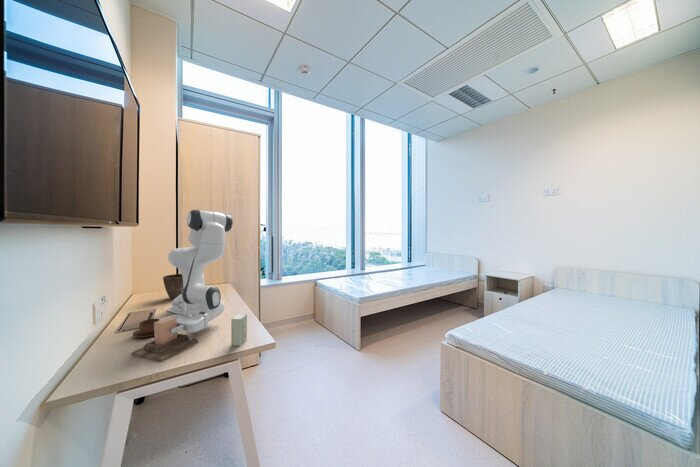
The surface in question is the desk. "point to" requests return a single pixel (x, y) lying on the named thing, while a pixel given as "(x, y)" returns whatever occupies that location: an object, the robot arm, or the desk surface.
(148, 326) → the cup and saucer
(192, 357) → the desk surface
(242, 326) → the skincare box
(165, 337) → the keyed block
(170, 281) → the plant pot
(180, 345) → the keyed holder
